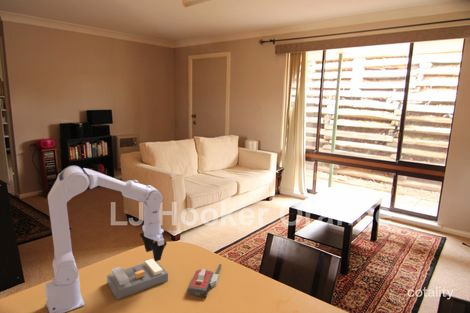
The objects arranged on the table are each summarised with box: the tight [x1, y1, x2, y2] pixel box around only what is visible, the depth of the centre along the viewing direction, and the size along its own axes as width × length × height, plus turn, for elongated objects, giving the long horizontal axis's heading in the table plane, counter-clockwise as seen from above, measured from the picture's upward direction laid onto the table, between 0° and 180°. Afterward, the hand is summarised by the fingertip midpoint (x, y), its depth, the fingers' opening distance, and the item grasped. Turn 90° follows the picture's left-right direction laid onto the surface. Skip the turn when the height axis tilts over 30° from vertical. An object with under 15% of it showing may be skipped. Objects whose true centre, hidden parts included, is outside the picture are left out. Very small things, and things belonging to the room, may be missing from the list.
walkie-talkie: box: [187, 263, 223, 299], centre depth 112 cm, size 9×4×20 cm
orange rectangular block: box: [135, 270, 145, 279], centre depth 108 cm, size 3×2×2 cm, turn 128°
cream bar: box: [144, 258, 164, 275], centre depth 113 cm, size 3×9×1 cm, turn 38°
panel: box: [106, 259, 169, 301], centre depth 110 cm, size 18×11×3 cm, turn 128°
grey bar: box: [111, 266, 129, 285], centre depth 105 cm, size 3×9×1 cm, turn 38°
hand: (153, 255), depth 112 cm, fingers open, 7 cm apart
